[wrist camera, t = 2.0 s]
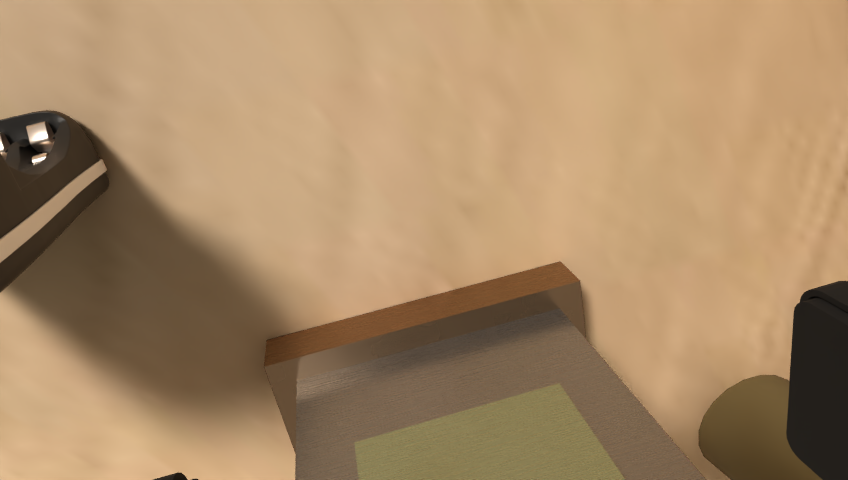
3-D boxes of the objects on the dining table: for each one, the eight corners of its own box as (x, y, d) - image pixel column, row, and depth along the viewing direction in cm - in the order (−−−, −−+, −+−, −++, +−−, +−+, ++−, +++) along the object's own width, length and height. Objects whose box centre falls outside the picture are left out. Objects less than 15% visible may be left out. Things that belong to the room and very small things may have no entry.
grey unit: (560, 261, 26) (811, 508, 13) (575, 389, 29) (793, 696, 16) (266, 340, 25) (228, 699, 12) (311, 466, 27) (319, 868, 15)
